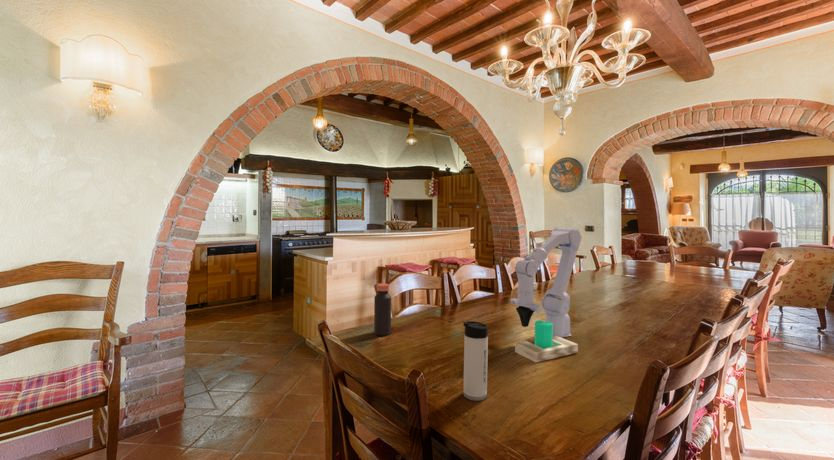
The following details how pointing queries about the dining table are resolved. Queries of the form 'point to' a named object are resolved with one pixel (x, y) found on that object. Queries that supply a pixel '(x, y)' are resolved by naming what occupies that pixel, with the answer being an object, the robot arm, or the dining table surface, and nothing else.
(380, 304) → the bottle
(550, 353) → the cream flat frame
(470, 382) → the travel mug
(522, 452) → the dining table surface
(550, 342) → the green prism block
